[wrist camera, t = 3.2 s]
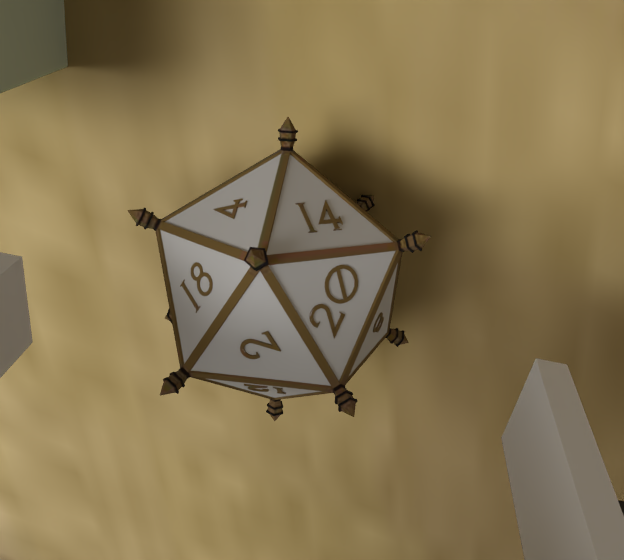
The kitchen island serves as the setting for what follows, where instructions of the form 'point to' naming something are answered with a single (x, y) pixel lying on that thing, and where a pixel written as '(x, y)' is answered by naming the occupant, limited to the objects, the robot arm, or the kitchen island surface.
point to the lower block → (31, 40)
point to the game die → (278, 282)
